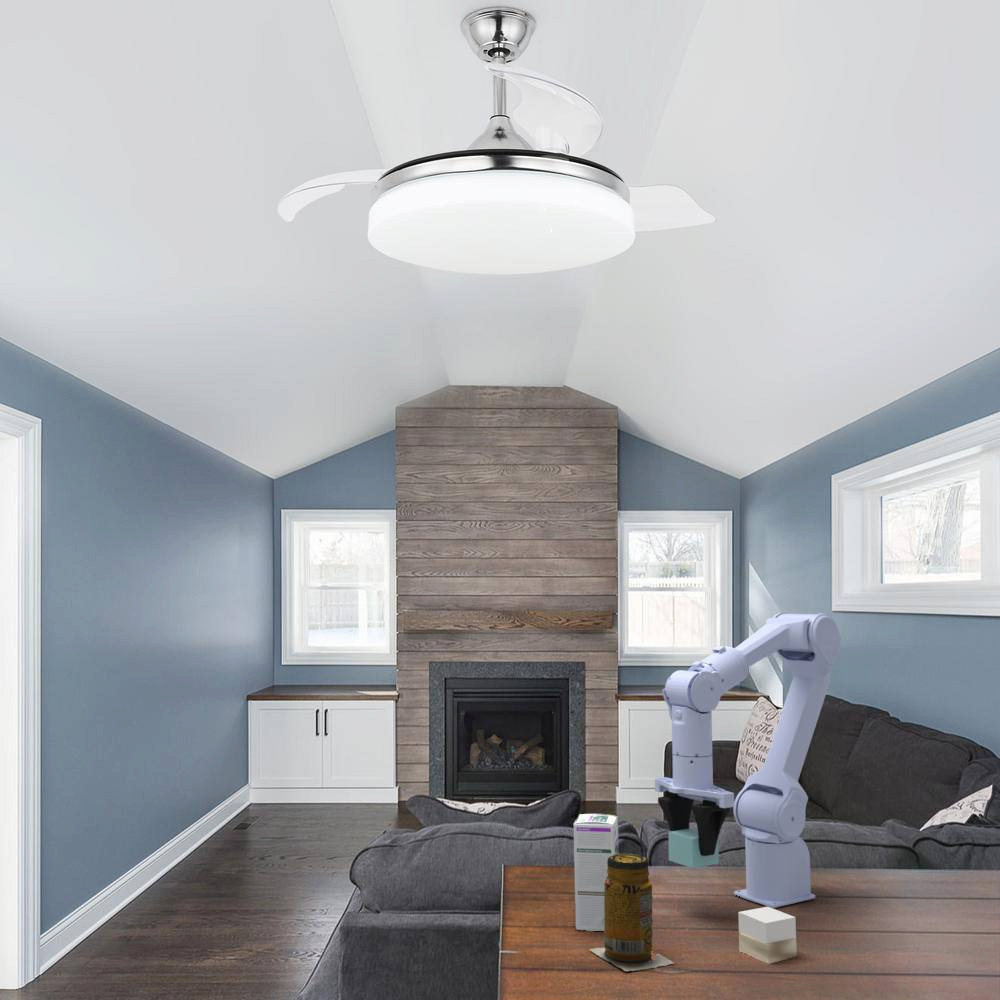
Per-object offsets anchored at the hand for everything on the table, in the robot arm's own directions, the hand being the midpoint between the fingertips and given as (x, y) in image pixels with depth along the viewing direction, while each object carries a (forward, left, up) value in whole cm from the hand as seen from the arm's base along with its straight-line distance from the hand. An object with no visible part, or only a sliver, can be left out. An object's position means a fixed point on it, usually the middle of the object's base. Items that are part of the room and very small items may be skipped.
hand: (693, 850), depth 141 cm
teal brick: (0, 0, -2) cm, 2 cm away
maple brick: (+3, +16, -9) cm, 19 cm away
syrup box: (+15, -4, -9) cm, 18 cm away
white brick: (+3, +16, -7) cm, 18 cm away
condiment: (+19, +8, -9) cm, 22 cm away
